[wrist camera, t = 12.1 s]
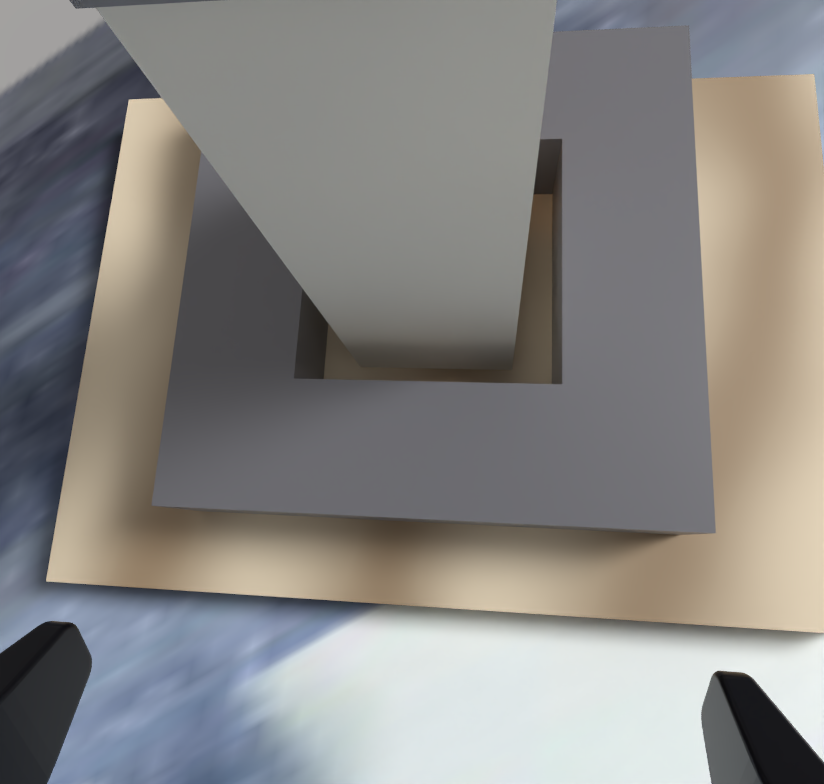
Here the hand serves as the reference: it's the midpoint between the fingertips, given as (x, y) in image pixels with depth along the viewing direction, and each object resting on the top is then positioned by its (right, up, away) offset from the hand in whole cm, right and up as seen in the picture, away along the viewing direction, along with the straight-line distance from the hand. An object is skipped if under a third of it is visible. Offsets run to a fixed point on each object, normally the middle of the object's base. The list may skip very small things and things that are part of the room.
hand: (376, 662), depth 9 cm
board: (+1, +6, +10) cm, 11 cm away
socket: (+1, +6, +8) cm, 11 cm away
